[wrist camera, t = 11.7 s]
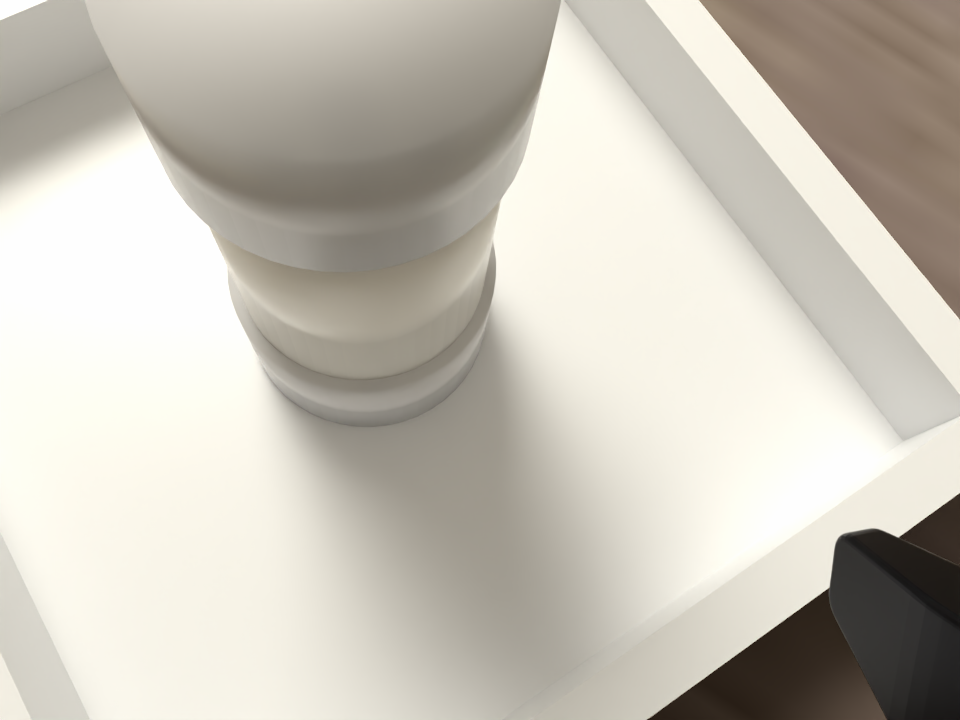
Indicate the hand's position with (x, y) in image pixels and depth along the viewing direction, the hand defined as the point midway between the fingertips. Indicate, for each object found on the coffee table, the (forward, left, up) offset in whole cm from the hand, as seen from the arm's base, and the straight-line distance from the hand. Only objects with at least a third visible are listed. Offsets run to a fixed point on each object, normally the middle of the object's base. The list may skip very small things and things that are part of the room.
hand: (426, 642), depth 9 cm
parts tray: (+6, -3, -8) cm, 11 cm away
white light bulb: (+6, -3, -8) cm, 10 cm away
